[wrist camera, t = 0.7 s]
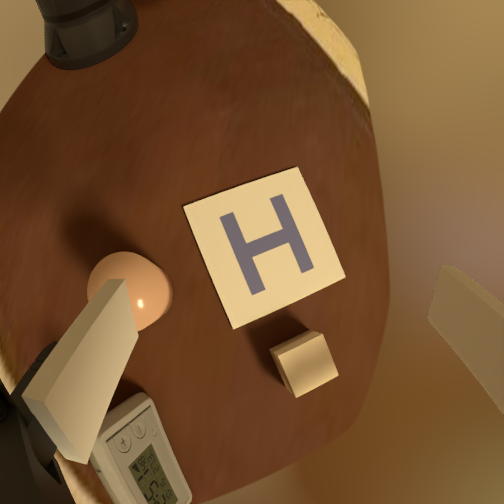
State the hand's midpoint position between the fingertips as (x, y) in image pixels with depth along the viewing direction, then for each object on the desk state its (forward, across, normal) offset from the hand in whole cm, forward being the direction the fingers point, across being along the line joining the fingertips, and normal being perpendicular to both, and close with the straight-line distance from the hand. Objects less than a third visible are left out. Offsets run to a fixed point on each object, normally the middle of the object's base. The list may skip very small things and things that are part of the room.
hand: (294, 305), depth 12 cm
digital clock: (+9, -14, -25) cm, 30 cm away
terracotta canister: (+18, -12, -8) cm, 23 cm away
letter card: (+22, +1, -5) cm, 22 cm away
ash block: (+16, +4, -17) cm, 23 cm away
